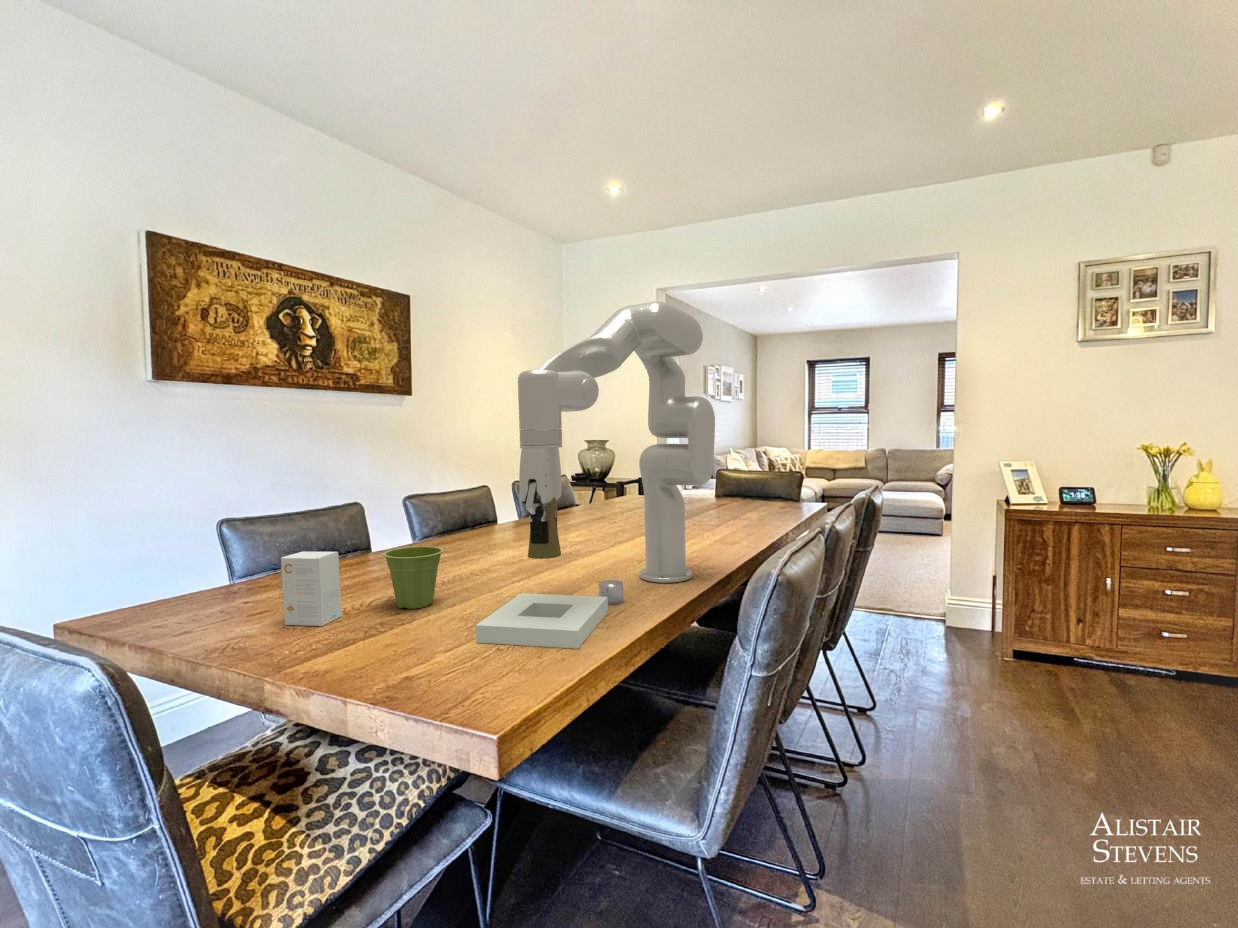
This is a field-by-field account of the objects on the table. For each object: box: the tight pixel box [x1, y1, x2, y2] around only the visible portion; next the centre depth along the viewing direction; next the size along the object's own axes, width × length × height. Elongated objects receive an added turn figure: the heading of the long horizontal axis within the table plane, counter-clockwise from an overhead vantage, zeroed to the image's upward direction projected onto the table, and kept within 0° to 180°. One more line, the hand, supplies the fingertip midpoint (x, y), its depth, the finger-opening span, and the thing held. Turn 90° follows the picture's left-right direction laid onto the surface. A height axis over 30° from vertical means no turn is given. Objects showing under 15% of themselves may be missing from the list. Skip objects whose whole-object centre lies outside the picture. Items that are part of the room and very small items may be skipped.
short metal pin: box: [598, 579, 625, 606], centre depth 127 cm, size 5×5×4 cm
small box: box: [280, 551, 343, 627], centre depth 118 cm, size 8×6×13 cm
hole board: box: [475, 592, 609, 650], centre depth 112 cm, size 20×18×3 cm
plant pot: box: [382, 545, 444, 610], centre depth 128 cm, size 12×12×11 cm
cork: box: [527, 497, 562, 560], centre depth 111 cm, size 6×6×11 cm
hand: (544, 539), depth 111 cm, fingers closed on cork, 4 cm apart
